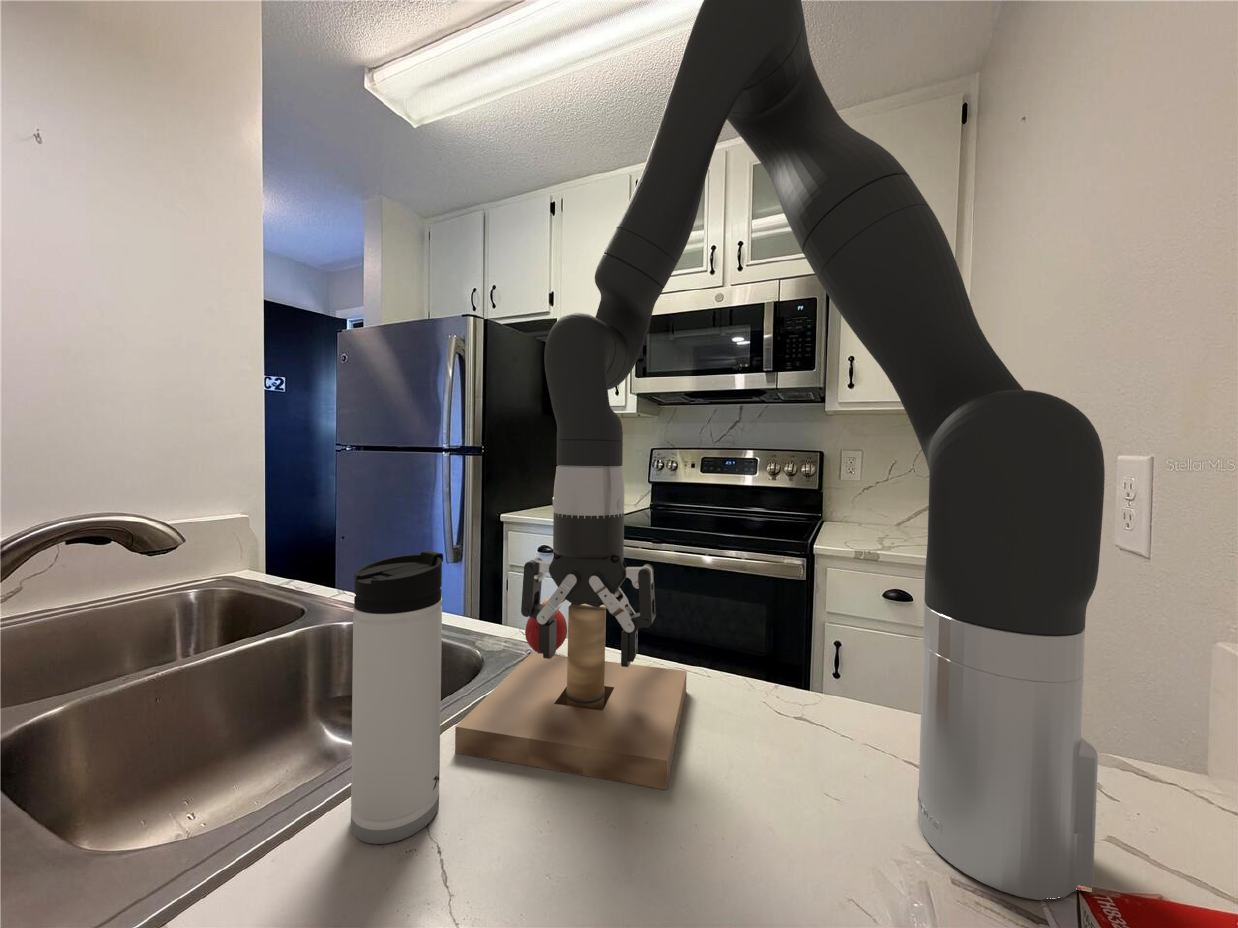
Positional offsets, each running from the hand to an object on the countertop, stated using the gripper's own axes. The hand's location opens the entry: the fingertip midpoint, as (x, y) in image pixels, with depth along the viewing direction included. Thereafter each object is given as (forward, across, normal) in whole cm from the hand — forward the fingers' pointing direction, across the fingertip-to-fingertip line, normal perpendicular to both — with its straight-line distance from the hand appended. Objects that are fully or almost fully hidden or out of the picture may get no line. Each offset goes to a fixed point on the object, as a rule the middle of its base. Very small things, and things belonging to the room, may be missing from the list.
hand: (587, 659), depth 52 cm
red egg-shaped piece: (+6, +10, -14) cm, 19 cm away
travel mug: (+6, +10, +17) cm, 21 cm away
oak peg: (+6, 0, 0) cm, 6 cm away
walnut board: (+6, 0, 0) cm, 6 cm away
